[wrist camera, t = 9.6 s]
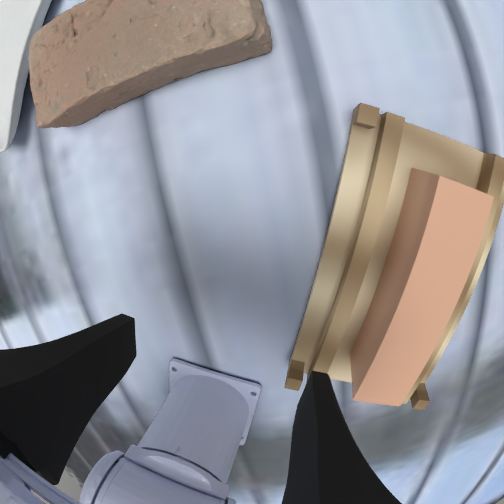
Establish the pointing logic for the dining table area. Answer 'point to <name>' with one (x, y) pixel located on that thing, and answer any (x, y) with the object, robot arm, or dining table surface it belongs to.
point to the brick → (134, 51)
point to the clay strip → (417, 285)
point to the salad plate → (16, 58)
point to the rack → (381, 237)
